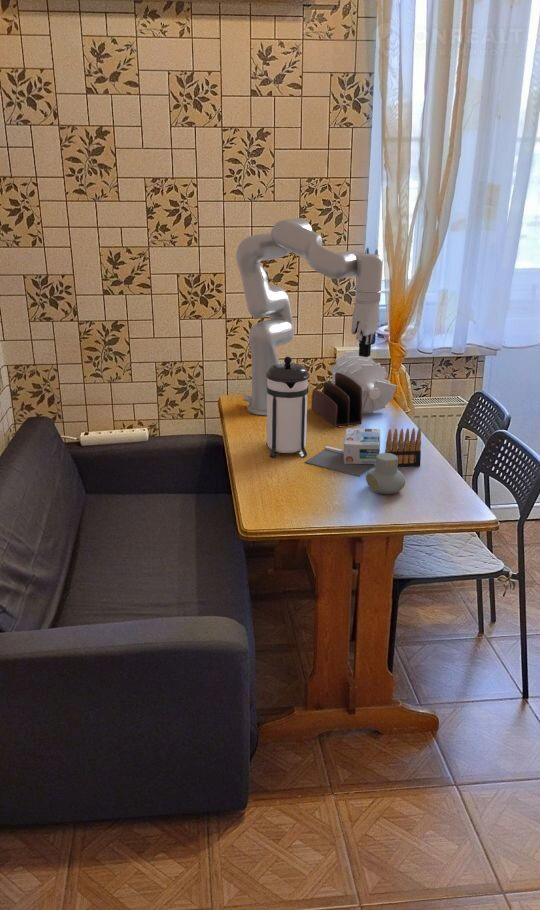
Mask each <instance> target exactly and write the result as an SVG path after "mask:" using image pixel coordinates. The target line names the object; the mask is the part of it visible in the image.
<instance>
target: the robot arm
mask: <svg viewBox="0 0 540 910" xmlns="http://www.w3.org/2000/svg"><path fill="white" fill-rule="evenodd" d="M291 253H293V254H295V255H297V256H299V257H301V258H303V259H305V261H306V263H307V265H309V266H310V268H311V269H312V270H313V271H316V272H317V273H319V274H321V275H322V276H325V277H327V278H330V279H334V280H341V279H344V278H350V277H356V278H355V280H356V281H355V293H354V294H355V298H354V300H355V302H354V306H353V312H352V319H351V330H350V331H351V335H356V336H355V340H356V341H358V345H359V346H358V350H359V356H363V357H371V352H372V351H371V350H372V349H371V347H372V342H373V336H374V335H375V334H376V332H377V331H378V330H379V326H380V303H381V295H382V278H383V264H384V261H383V257H382V256H381V255H379V254H376V253H365V252H362V251H360V250H347V251H340V252H333V251H331V250H329V249H327V248H324V247H323V239H322V236H321V235H320V234H319V233H318V232H315V231H313V228H312V226H311V224H310V223H309V222H308V221H307V220H306V219H304V218H301V217H300V218H299V217H298V218H287V219H282V220H279V221H277V222H276V223H275V224H274V225H273V226H272V228H271V229H270V232H269V233H259V234H254V235H253V234H252V235H250V236H247V237H246V238H244V239H243V240H242V241H240V243H239V244H238V246H237V249H236V257H235V258H236V263H237V268H238V271H239V273H240V276H241V281H242V287H243V292H244V297H245V302H246V307H247V310H248V312H249V315H250V316H251V317H253V318H258V319H259V318H266V317H269V319H266V320H263V321H260V322H256V323H255V324H254V325H252V327H250V329H249V332H248V341H249V347H250V354H251V356H250V357H251V394H249V393H245V394H244V396H243V398H242V399H243V401H245V402H248V405H247V407H246V408H247V412H249V413H250V414H253V415H257V416H267V392H266V386H267V377H266V372H267V371H268V369H269V368H270V367H271V366H272V365H274V364H277V363H280V358H279V355H278V353H277V351H276V348H277V347H280V346H284V345H286V344H289V343H290V342H292V340H293V339H294V336H295V325H294V324H295V323H294V319H293V314H292V307H291V302H290V298H289V295H288V293H287V292H286V291H285V289H284V288H282V287H281V286H278V285H271V286H270V284H269V280H268V275H267V272H266V270H265V268H264V266H262V264H261V262H263V261H264V262H265V261H269V260H271V261H272V260H276V259H281V258H284V257H285V256H287V255H289V254H291Z"/></svg>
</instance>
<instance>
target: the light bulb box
mask: <svg viewBox="0 0 540 910" xmlns="http://www.w3.org/2000/svg"><path fill="white" fill-rule="evenodd" d="M343 450H344V464H375V465H376V456H377V455H378V454H381V429H380V428H350V427H347V428H346V429H345V436H344V442H343Z"/></svg>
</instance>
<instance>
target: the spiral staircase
mask: <svg viewBox="0 0 540 910" xmlns="http://www.w3.org/2000/svg"><path fill="white" fill-rule="evenodd" d="M334 361H335V363H334V365H333V367H332V368H331V369H330V373H332V376H331V383H332V384H334V385H335V373H336V372H337V373H341V374H343V375H346V376H347V377H349V378H351V379H352V380H354V381H355V382H356V383H358V384H359V385H360V386H361V388H362V411H364V412H368V413H372V414H373V413H374V412H375V411H380V410H382V409H385V408H386V406H387V405H388V404H389V403H391V402H392V400H393V399H394V398H395V397H394V395H395V391H396V389H397V388H398V385H396V384H392V383H391V381H389V380H386V378H388V377H389V374H388V372H387V369H386V367H385V366H382V365H381V362H378V363H377V362H376V361H375V360H374V359H373V357H372V356H369V357H363V356H359V349H355V351H344V354H343V355H341V356H339V357H337V358H336V359H335V360H334Z"/></svg>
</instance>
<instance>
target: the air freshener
mask: <svg viewBox="0 0 540 910" xmlns="http://www.w3.org/2000/svg"><path fill="white" fill-rule="evenodd" d="M397 466H398V457H397V456H396V455H394V454H391V453H385V452H380V454H378V455H377V456H376V464H375V467H374V468H372V469H371V470H369V471H368V472H367V474H366V476H365V480H366V481H365V482H366V483H367V486H368V487H369V489H370V490H371V491H373V492H375V493H377V494H380V495H393V494H396V493H398V492H400V491H402V490H403V488H405V486H406V478H405V475H404V474H403V473H402V471H400V470H399V469H398V468H397Z"/></svg>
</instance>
